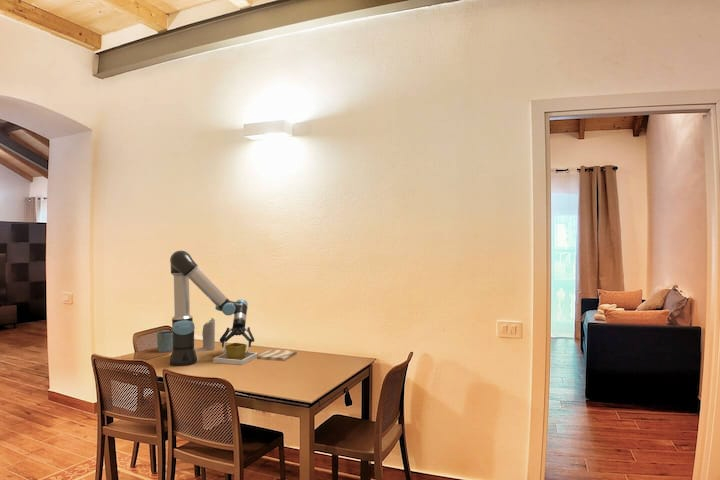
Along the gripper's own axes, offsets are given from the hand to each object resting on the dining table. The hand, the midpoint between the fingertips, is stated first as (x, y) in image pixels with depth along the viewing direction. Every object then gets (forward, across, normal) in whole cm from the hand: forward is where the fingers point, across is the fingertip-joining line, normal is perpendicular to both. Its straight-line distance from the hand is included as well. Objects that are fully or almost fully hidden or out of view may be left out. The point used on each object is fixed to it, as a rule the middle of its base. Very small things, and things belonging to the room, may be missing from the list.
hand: (235, 351), depth 261 cm
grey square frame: (+2, 0, -5) cm, 6 cm away
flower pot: (+2, 0, -5) cm, 6 cm away
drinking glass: (-18, +49, -26) cm, 58 cm away
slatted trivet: (-2, -24, -9) cm, 26 cm away
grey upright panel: (-18, +25, -26) cm, 40 cm away
